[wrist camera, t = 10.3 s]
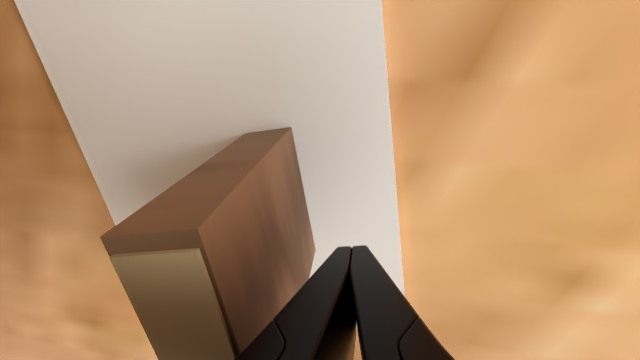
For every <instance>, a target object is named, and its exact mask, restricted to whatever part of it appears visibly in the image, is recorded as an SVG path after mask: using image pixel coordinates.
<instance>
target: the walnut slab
mask: <svg viewBox="0 0 640 360" xmlns="http://www.w3.org/2000/svg"><path fill="white" fill-rule="evenodd" d="M101 240H102V242H103V244H104V246H105V248H106V250H107V252H108V254H109V256H110V257H109V258H110V260H111V262H112V264H113V266H114V268H115V270H116V272H117V274H118V276H119V278H120V280H121V283H122V285H123V287H124V289H125V291H126V293H127V295H128V297H129V299H130V301H131V303H132V305H133V307H134V310H135V312H136V314H137V316H138V318H139V320H140V322H141V324H142V326H143V328H144V330H145V332H146V334H147V337H148V339H149V341H150V343H151V345H152V347H153V349H154V351H155V353H156V355H157V357H158V359H159V360H234V359H235V358H236V357H237V356H238V355H239V354H240V353H241V352H242V351H243V350H244V349H245V348H246V347H247V346H248V345H249V344H250V343H251V342H252V341H253V340H254V339H255V338H256V337H257V336H258V335H259V334H260V333H261V332H262V331H263V329H264V328H265V327H266V326H267V325H268V324H269V323H270V322H271V321H272V320H273V319H274V317H275V316H276V315H277V314H278V313H279V312H280V311H281V309H282V308H283V307H284V306H285V305H286V304H287V303H288V302H289V301H290V299H291V298H292V297H293V296H294V295H295V294H296V293H297V292H298V290H299V289H300V288H301V287H302V286H303V285H304V284H305V283H306V282H307V280H308V279H309V276H310V272H311V268H312V264H313V259H314V255H315V251H316V249H315V244H314V239H313V234H312V229H311V224H310V219H309V214H308V209H307V204H306V199H305V194H304V188H303V183H302V178H301V173H300V168H299V163H298V158H297V153H296V148H295V143H294V138H293V133H292V128H291V127H287V128H280V129H273V130H266V131H258V132H251V133H245V134H244V135H242V136H241V137H240V138H238V139H237V140H235V141H234V142H233V143H231V144H230V145H228V146H227V147H226V148H224V149H223V150H221V151H220V152H219V153H217V154H216V155H214V156H213V157H212V158H210V159H209V160H207V161H206V162H205V163H203V164H202V165H200V166H199V167H198V168H196V169H195V170H193V171H192V172H190V173H189V174H188V175H186V176H185V177H183V178H182V179H181V180H179V181H178V182H176V183H175V184H174V185H172V186H171V187H169V188H168V189H167V190H165V191H164V192H162V193H161V194H160V195H158V196H157V197H155V198H154V199H153V200H151V201H150V202H148V203H147V204H146V205H144V206H143V207H141V208H140V209H139V210H137V211H136V212H134V213H133V214H132V215H130V216H129V217H127V218H126V219H125V220H123V221H122V222H120V223H119V224H118V225H116V226H115V227H113V228H112V229H111V230H109V231H108V232H106V233H105V234H104V235H102V236H101ZM273 321H274V320H273Z"/></svg>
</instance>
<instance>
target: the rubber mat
mask: <svg viewBox="0 0 640 360" xmlns="http://www.w3.org/2000/svg"><path fill="white" fill-rule="evenodd" d="M14 2H15V4H16V6H17V8H18V11H19V13H20V15H21V17H22V19H23V22H24V24H25V26H26V28H27V31H28V33H29V35H30V37H31V39H32V42H33V44H34V46H35V48H36V50H37V53H38V55H39V57H40V59H41V62H42V64H43V66H44V68H45V70H46V73H47V75H48V77H49V79H50V82H51V84H52V86H53V88H54V90H55V93H56V95H57V97H58V99H59V102H60V104H61V106H62V108H63V110H64V113H65V115H66V117H67V119H68V122H69V124H70V126H71V128H72V130H73V133H74V135H75V137H76V139H77V141H78V144H79V146H80V148H81V150H82V153H83V155H84V157H85V159H86V161H87V164H88V166H89V168H90V170H91V173H92V175H93V177H94V179H95V181H96V184H97V186H98V188H99V190H100V193H101V195H102V197H103V199H104V201H105V204H106V206H107V208H108V210H109V213H110V215H111V217H112V219H113V221H114V224H115V226H116V225H118V224H119V223H120V222H122V221H123V220H125V219H126V218H127V217H129V216H130V215H132V214H133V213H134V212H136V211H137V210H139V209H140V208H141V207H143V206H144V205H146V204H147V203H148V202H150V201H151V200H153V199H154V198H155V197H157V196H158V195H160V194H161V193H162V192H164V191H165V190H167V189H168V188H169V187H171V186H172V185H174V184H175V183H176V182H178V181H179V180H181V179H182V178H183V177H185V176H186V175H188V174H189V173H190V172H192V171H193V170H195V169H196V168H198V167H199V166H200V165H202V164H203V163H205V162H206V161H207V160H209V159H210V158H212V157H213V156H214V155H216V154H217V153H219V152H220V151H221V150H223V149H224V148H226V147H227V146H228V145H230V144H231V143H233V142H234V141H235V140H237V139H238V138H240V137H241V136H242V135H244V134H245V133H251V132H258V131H266V130H273V129H280V128H287V127H291V128H292V133H293V138H294V143H295V148H296V153H297V158H298V163H299V168H300V173H301V178H302V183H303V188H304V194H305V199H306V204H307V209H308V214H309V219H310V224H311V229H312V234H313V239H314V244H315V249H316V251H315V255H314V259H313V264H312V268H311V272H310V276H309V278H310V277H311V276H312V275H313V274H314V273H315V271H316V270H317V269H318V268H319V267H320V266H321V265H322V264H323V263H324V261H325V260H326V259H327V258H328V257H329V256H330V255H331V254H332V252H333V251H334V250H335V249H336V248H337V247H342V246H351V247H353V246H359V245H366V246H367V247H368V248H369V249H370V251H371V252H372V253H373V255H374V256H375V257H376V259H377V260H378V261H379V263H380V264H381V265H382V267H383V268H384V269H385V271H386V272H387V274H388V275H389V276H390V278H391V279H392V280H393V282H394V283H395V284H396V286H397V287H398V288H399V290H400V291H401V292H402V294H403V295H404V296H405V294H404V281H403V268H402V256H401V243H400V230H399V217H398V204H397V191H396V178H395V165H394V153H393V140H392V127H391V114H390V101H389V88H388V75H387V62H386V49H385V37H384V24H383V11H382V0H14ZM356 329H357V328H356Z"/></svg>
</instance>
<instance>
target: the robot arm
mask: <svg viewBox="0 0 640 360" xmlns="http://www.w3.org/2000/svg"><path fill="white" fill-rule="evenodd" d="M273 320H274V321H273ZM273 320H272V321H271V322H270V323H269V324H268V325H267V326H266V327H265V328H264V329H263V331H262V332H261V333H260V334H259V335H258V336H257V337H256V338H255V339H254V340H253V341H252V342H251V343H250V344H249V345H248V346H247V347H246V348H245V349H244V350H243V351H242V352H241V353H240V354H239V355H238V356H237V357H236V358H235V359H234V360H353V358H354V349H355V339H356V328H357V329H358V336H359V343H360V350H361V356H362V360H455V359H454V358H453V357H452V356H451V355H450V354H449V353H448V352H447V351H446V349H445V348H444V347H443V346H442V345H441V344H440V342H439V341H438V340H437V339H436V337H435V336H434V335H433V334H432V332H431V331H430V330H429V329H428V327H427V326H426V325H425V323H424V322H423V321H422V319H421V318H419V315H418V314H417V313H416V311H415V310H414V309H413V307H412V306H411V305H410V303H409V302H408V301H407V299H406V298H405V296H404V295H403V294H402V292H401V291H400V290H399V288H398V287H397V286H396V284H395V283H394V282H393V280H392V279H391V278H390V276H389V275H388V274H387V272H386V271H385V269H384V268H383V267H382V265H381V264H380V263H379V261H378V260H377V259H376V257H375V256H374V255H373V253H372V252H371V251H370V249H369V248H368V247H367V246H366V245H359V246H353V247H351V246H342V247H337V248H336V249H335V250H334V251H333V252H332V254H331V255H330V256H329V257H328V258H327V259H326V260H325V261H324V263H323V264H322V265H321V266H320V267H319V268H318V269H317V270H316V271H315V273H314V274H313V275H312V276H311V277H310V278H309V279H308V280H307V282H306V283H305V284H304V285H303V286H302V287H301V288H300V289H299V290H298V292H297V293H296V294H295V295H294V296H293V297H292V298H291V299H290V301H289V302H288V303H287V304H286V305H285V306H284V307H283V308H282V309H281V311H280V312H279V313H278V314H277V315H276V316H275V317H274V319H273Z"/></svg>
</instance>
